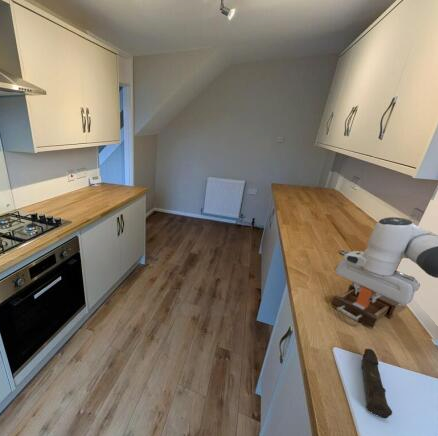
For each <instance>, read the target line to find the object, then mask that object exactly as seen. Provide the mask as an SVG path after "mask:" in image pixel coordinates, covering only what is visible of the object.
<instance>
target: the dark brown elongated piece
mask: <svg viewBox="0 0 438 436" xmlns="http://www.w3.org/2000/svg"><path fill="white" fill-rule="evenodd" d="M361 369H362V370H363V376H364V377H363V379H364V383H365V384H364V385H365V393H366V396H367V404H366V406H365V408H366V409H367V412H369V411H370V412H369V413H371V412H372V413H371V414H373V415H374V414H375V416H376V415H378V416H377V417H379V416H380V417H379V418H382V419H388V418H389V417H390V416H392V415H393V410H392V409H391V407H390V406H389V404H388V401H387V398H386V392H387V390H386V388H385V387H384V385H383V381H382V377H381V374H380V371H379V360H378V357H377V354H376V353H375V351H374V350H373V349H371V348H366V349H365V350H364V352H363V355H362V360H361Z"/></svg>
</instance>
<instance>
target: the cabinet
mask: <svg viewBox="0 0 438 436" xmlns="http://www.w3.org/2000/svg"><path fill="white" fill-rule="evenodd" d="M354 283H355V282H352V283H350V284H349V286H348V288H347V291H346V292H348V291H350V290H352V289H355V287H354ZM362 287H363V286H362V285H360V289H361V288H362ZM355 290H356V289H355ZM373 296H377V295H376V292H374V294H373ZM376 300H378V301H380V302H382V303H384V304H386V305H388V306H390V308H389V310H388V312H387V314H385V315H384V316H383V317H385V318H387V319H389V320H390V319H392V318H393V317H394V316H396V315H397V314H399V313H401V311H402V310H404V309H406V307H407V305H408V304H401V303H399V302H397V301H394V300H392V299H390V298H388V297H386V296H381V297H379V298H377V299H376Z"/></svg>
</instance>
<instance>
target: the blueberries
mask: <svg viewBox="0 0 438 436" xmlns="http://www.w3.org/2000/svg"><path fill="white" fill-rule="evenodd" d="M349 252H350V251H348V250H344V249H343V250H342V249H341V250H340V253H341V254H342V255H343V256H344V255H345V254H347V253H349Z"/></svg>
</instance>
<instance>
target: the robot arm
mask: <svg viewBox="0 0 438 436" xmlns="http://www.w3.org/2000/svg"><path fill="white" fill-rule="evenodd" d="M367 242H368V243H367V247H366V248H365V249H364V250H363V251H357V250H352V251H348V252H349V253H347V254H345V255H344V254H343V259H341V260H340V261H339V262H338V264H337V266H336V268H335V273H336V275H338V276H339V277H342V278H344V279H346V280H349V281H351V282H352V283H354V282H355V283H354V287H355V289H356V292H355V294H356V295H359V293H360V291H361V289H360V285H362V286H364V287H366V288H368V289H370V290H373V291H375V292H376V295H377V296H373V295H372V296H370V297H369V301H371V302H373V303H374V302H375V301H376V299H377V298H379V297H381V296H386V297H388V298H390V299H392V300H394V301H397V302H399V303H401V304H407V305H408V304H410V303H412V301H413V299H414V295H415V292H417V291H418V290H419V288H420V286H421V284H420V282H419V280H417V279H416V277H414V276H411V275H408V274H405V273H404V272H401V271H398V267H399V266H400V263H401V261H402V260H403V259H409V260H410V261H411V262H413V263H414V264H416V265H417V266H418V267H419V268H420V269H421V270H422V271H423V272H425V274H427V275H428V276H430V277H433V278H436V279H438V234H436V233H434V232H432V231H430V230H428V229H427V230H426V229H424V228H422V227H420V226H418V225H416V224H415V223H414V222H413V221H412V220H411V219H407V218H403V217H396V216H392V217H384V218H381V219H380V220H378V221H377V222H376V224H375V225H374V226H373V229H372V231H371V233H370V235H369V238H368V241H367Z"/></svg>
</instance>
